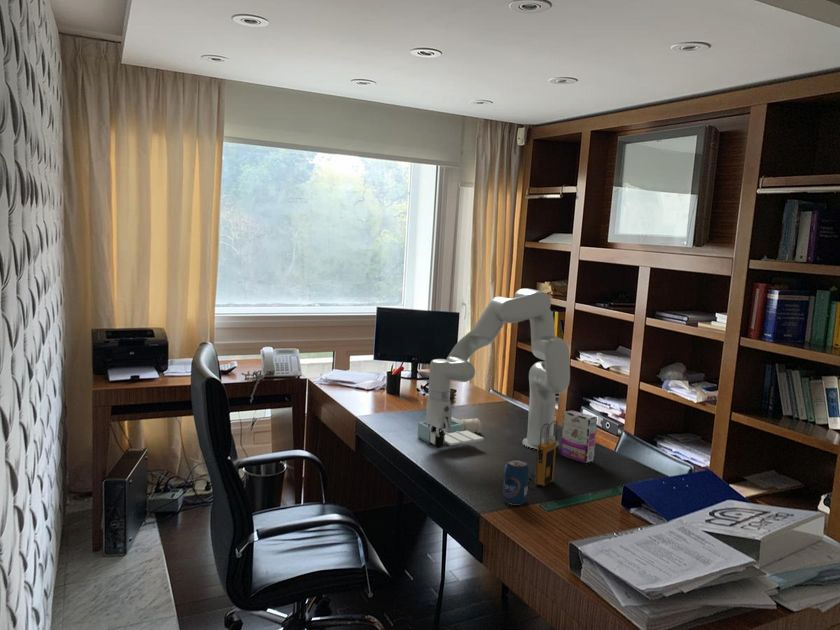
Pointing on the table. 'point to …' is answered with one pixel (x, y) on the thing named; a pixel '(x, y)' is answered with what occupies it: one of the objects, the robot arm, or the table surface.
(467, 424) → the gavel
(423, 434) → the tub
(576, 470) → the table surface
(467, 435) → the lid
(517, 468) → the soda can
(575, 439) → the candy bar box
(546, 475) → the multimeter
